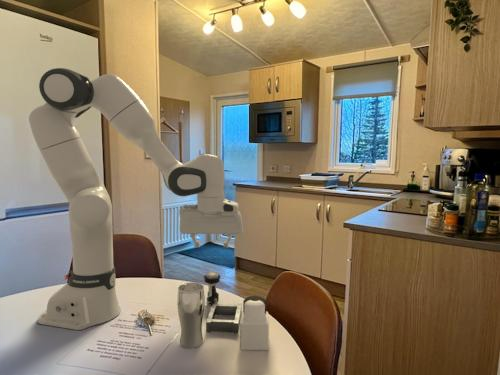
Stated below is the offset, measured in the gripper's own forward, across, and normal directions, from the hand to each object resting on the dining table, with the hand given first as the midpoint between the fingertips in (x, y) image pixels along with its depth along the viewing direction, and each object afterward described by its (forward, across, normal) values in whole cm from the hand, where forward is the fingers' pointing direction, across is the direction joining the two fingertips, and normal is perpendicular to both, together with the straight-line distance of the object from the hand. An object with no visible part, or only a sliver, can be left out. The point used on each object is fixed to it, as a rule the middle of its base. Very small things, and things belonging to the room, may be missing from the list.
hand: (211, 247), depth 109 cm
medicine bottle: (+19, +15, -22) cm, 33 cm away
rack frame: (+19, +6, -12) cm, 23 cm away
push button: (+19, 0, 0) cm, 19 cm away
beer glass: (+19, -2, -23) cm, 30 cm away
